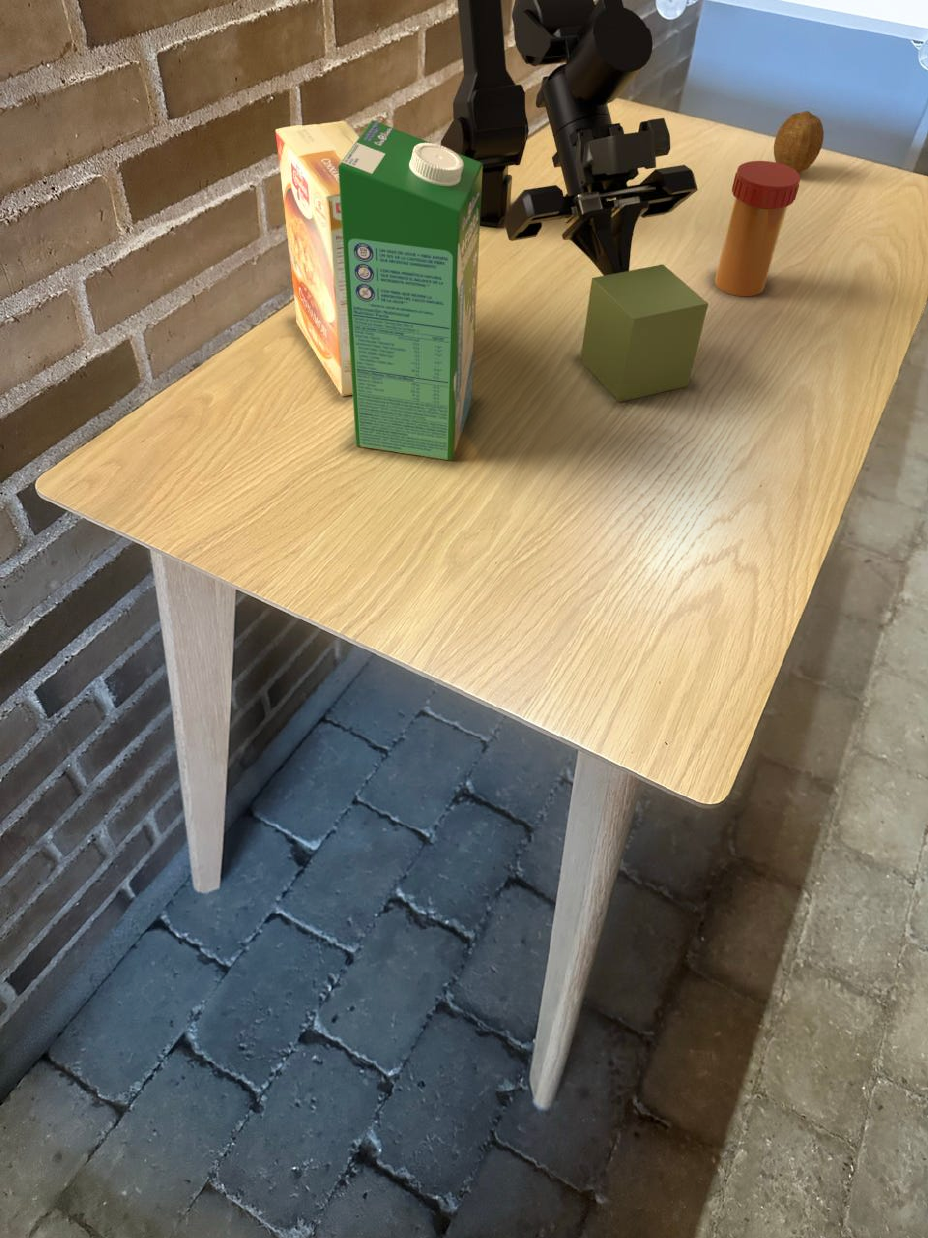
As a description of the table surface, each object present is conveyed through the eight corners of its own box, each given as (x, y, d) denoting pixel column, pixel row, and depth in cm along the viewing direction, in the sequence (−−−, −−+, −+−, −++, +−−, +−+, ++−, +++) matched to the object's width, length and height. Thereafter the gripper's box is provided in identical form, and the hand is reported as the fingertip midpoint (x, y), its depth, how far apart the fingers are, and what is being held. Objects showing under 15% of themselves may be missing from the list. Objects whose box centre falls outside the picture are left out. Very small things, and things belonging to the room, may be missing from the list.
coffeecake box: (294, 322, 99) (272, 126, 85) (357, 310, 101) (347, 117, 87) (339, 398, 90) (324, 194, 76) (408, 383, 92) (406, 182, 78)
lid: (729, 203, 99) (734, 181, 97) (733, 178, 103) (738, 156, 102) (794, 212, 98) (800, 190, 96) (795, 186, 102) (801, 165, 101)
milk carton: (452, 461, 84) (461, 178, 66) (355, 446, 85) (337, 163, 67) (471, 404, 90) (484, 130, 72) (380, 391, 91) (370, 117, 73)
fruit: (812, 167, 131) (831, 105, 125) (812, 185, 127) (831, 122, 121) (767, 161, 132) (783, 99, 126) (766, 179, 128) (782, 116, 122)
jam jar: (713, 291, 107) (739, 184, 98) (716, 269, 110) (742, 164, 101) (762, 299, 106) (793, 192, 97) (764, 276, 110) (794, 171, 101)
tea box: (580, 360, 96) (591, 277, 90) (646, 345, 99) (663, 263, 92) (618, 402, 91) (634, 318, 85) (688, 386, 94) (708, 303, 87)
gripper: (526, 96, 81) (572, 276, 82) (708, 73, 86) (748, 242, 87) (484, 157, 91) (525, 315, 93) (649, 133, 97) (685, 283, 98)
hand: (622, 288), depth 92 cm, fingers closed, pressing on tea box
